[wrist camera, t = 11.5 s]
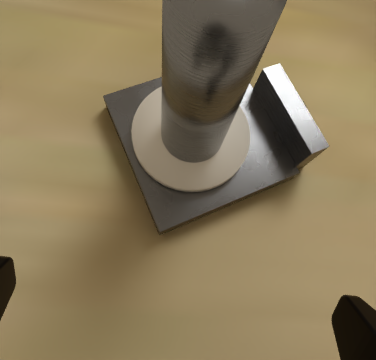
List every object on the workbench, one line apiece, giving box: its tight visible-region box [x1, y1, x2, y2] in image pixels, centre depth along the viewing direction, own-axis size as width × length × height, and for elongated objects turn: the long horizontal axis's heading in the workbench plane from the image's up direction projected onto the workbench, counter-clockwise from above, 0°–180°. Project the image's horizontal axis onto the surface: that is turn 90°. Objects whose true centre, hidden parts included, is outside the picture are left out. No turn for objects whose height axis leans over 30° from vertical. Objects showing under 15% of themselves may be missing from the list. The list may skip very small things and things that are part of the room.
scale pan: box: [131, 86, 250, 192], centre depth 23 cm, size 8×8×1 cm
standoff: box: [161, 0, 287, 163], centre depth 17 cm, size 4×4×12 cm
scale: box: [103, 63, 329, 235], centre depth 23 cm, size 11×13×4 cm
